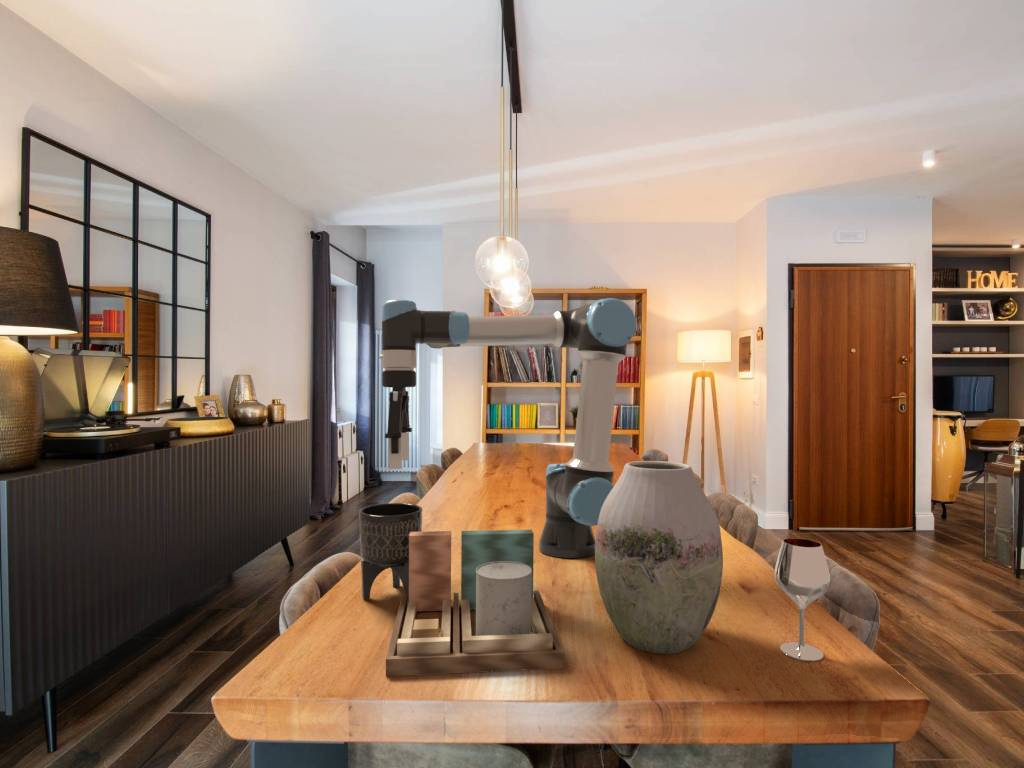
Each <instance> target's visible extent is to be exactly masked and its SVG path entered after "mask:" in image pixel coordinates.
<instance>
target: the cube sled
mask: <svg viewBox="0 0 1024 768" xmlns="http://www.w3.org/2000/svg"><path fill="white" fill-rule="evenodd" d="M451 608H452V531H451V530H445V531H444V530H442V531H441V530H436V531H435V530H433V531H428V530H427V531H421V532H410V535H409V601H407V611H406V615H405V620H404V625H403V629H402V634H401V639H398V641H397V656H404V655H430V654H451V618H452V617H451V616H452V612H451V611H452V609H451ZM417 612H441V629H440V630H441V631H440V637H439V636H438V637H434V638H413V627H414V621H415V620H416V618H417Z"/></svg>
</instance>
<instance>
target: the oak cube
mask: <svg viewBox="0 0 1024 768" xmlns="http://www.w3.org/2000/svg"><path fill="white" fill-rule="evenodd" d="M439 626H440V625H439V618H428V619H427V618H425V619H423V618H422V619H418V618H417V619H415V621H414V627H413V636H412V638H434V637H439Z"/></svg>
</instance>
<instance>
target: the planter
mask: <svg viewBox="0 0 1024 768" xmlns="http://www.w3.org/2000/svg"><path fill="white" fill-rule="evenodd" d="M358 519H359V520H358V521H359V544H360V545H359V546H360V557H361V559H362V560H360V562H361V563H360V565H361V568H360V569H361V594H362V600H363V601H369V600H370V599H371V598H370V596H371V591H372V586H373V583H374V581H375V580H376V579H377V577H378V576H379V575H380V574H381V573H383V572H384V571H385V570H387V569H391V573H392V588H399V587H400V586H401V584H402V588H403V594H407V602H409V535H410V532H423V531H422V528H423V507H422V506H420V505H417V504H412V503H404V502H403V503H402V502H391V503H389V502H388V503H387V502H386V503H377V504H372V505H367V506H364V507H362V508H360V509H359V511H358Z"/></svg>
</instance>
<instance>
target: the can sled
mask: <svg viewBox="0 0 1024 768" xmlns="http://www.w3.org/2000/svg"><path fill="white" fill-rule="evenodd" d="M534 535H535V534H534V531H533V530H532V529H492V530H491V529H490V530H488V529H486V530H461V535H460V536H461V540H460V541H461V543H460V544H461V548H460V549H461V550H460V551H461V553H460V554H461V555H460V556H461V557H460V558H461V559H460V560H461V561H460V563H461V564H460V566H461V567H460V571H461V572H460V574H461V575H460V582H461V583H460V587H461V588H460V590H461V591H460V608H461V609H460V613H461V648H462V650H461V651H462V652H461V653H480V652H505V651H531V650H553V637H552V634H551V633H546V631H545V628H544V625H543V623H542V620H541V617H540V614H539V612H538V609H537V606H536V604H535V601H534V553H535V552H534V538H535V537H534ZM496 561H512V562H519V563H523V564H526V565H528V566H529V567H530V568H531V569H532V573H531V631H532V632H533V633H531V634H515V635H488V636H476V635H472V626H471V625H472V624H471V611H473V610H475V611H476V568H477V567H478V566H480V565H482V564H485V563H489V562H496Z"/></svg>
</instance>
